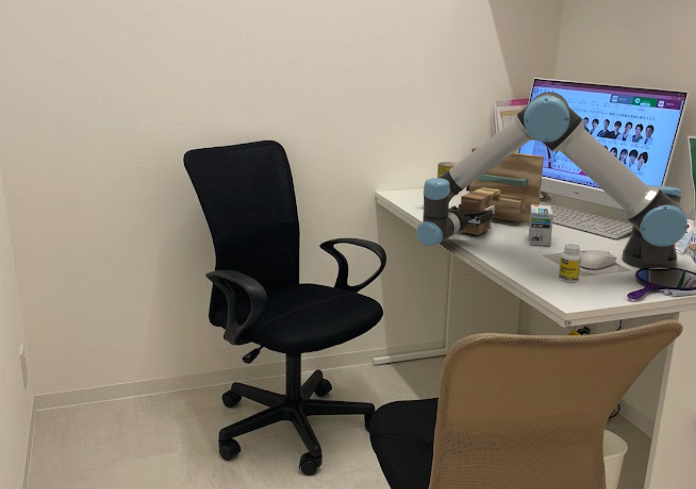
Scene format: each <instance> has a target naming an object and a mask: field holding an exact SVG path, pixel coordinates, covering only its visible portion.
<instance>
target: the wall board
mask: <svg viewBox="0 0 696 489" xmlns="http://www.w3.org/2000/svg"><path fill="white" fill-rule="evenodd" d="M477 148H478V147H473V148H472V147H471V153H472V152H474V151H475V150H476V149H477ZM544 157H545V156H544V155H536V154H529V153H519V152H514V153H512V154H511V155H509V156H508V157H507V158H505V159H504V160H503V161H501V162H500V163H499V164H497V165H496V166H494V167H493V168H492V169H490V170H489V171H488V172H486V173H485V174H483V175H482V176H481V177H479V178H478V179H477V180H475V181H474V182H473V183H471V184H470V185H469V189H468V190H469V191H468V193H470V192H472V191H475V190H478V189H480V188H482V187H484V188H490V189H497V190H500V201H493V200H492V205H493V206H495V208H494V214H493V217H492V219H493V218H494V219H499V220H505V221H509V222H510V221H511V222H514V223H515V222H516V223H521V224H527V225H529V223H530V211H531V205H540V203H541V202H540V201H541V192H542V182H543V180H542V179H543V170H544V169H543V168H544V161H545V160H544V159H545V158H544Z"/></svg>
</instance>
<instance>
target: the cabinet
mask: <svg viewBox="0 0 696 489" xmlns="http://www.w3.org/2000/svg"><path fill="white" fill-rule="evenodd" d="M492 200H493V201H500V190H497V189H490V188H484V187H482V188H480V189H478V190H475V191H472V192H470V193H469V192H468V193H466V194H463V195H461V197H460V204H461V212H462V213H469V212H471V213H477V212H482V211H484V209H486V208H488V207H490V206H492ZM491 228H492V220H490V221H488V222H485V223H483V224H480V225H479V226H475V223H471V224H470V225H466V227H465V228H464V230H462V231H461V232H462V233H467V234H473V235H476V236H479V235H481V234H482V233H483V234H484V232H487V231H488V230H490V229H491Z"/></svg>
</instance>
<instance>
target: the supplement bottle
mask: <svg viewBox="0 0 696 489" xmlns="http://www.w3.org/2000/svg"><path fill="white" fill-rule="evenodd" d="M563 250H564V251H563V252H562V253H561V254H560V261H559V271H558V279H559V280H560V281H563V282H565V283H576V282H578V281H579V280H580V272H581V264H582V255H581V254H580V250H581V247H580V245H578V244H573V243H567V244H566V243H565V244H564V249H563Z"/></svg>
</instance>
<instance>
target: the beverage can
mask: <svg viewBox="0 0 696 489" xmlns="http://www.w3.org/2000/svg"><path fill="white" fill-rule="evenodd" d="M458 163H459V162H453V161H441V162H437V173H436V174H437V175H436V178H438V177H439V176H441V175H443V174H445V173H446V172H447V171H449V170H450V169H451V168H453V167H454V166H455V165H456V164H458ZM459 194H460V192H459V193H458V194H457V195H459ZM457 195H456V196H457Z"/></svg>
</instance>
